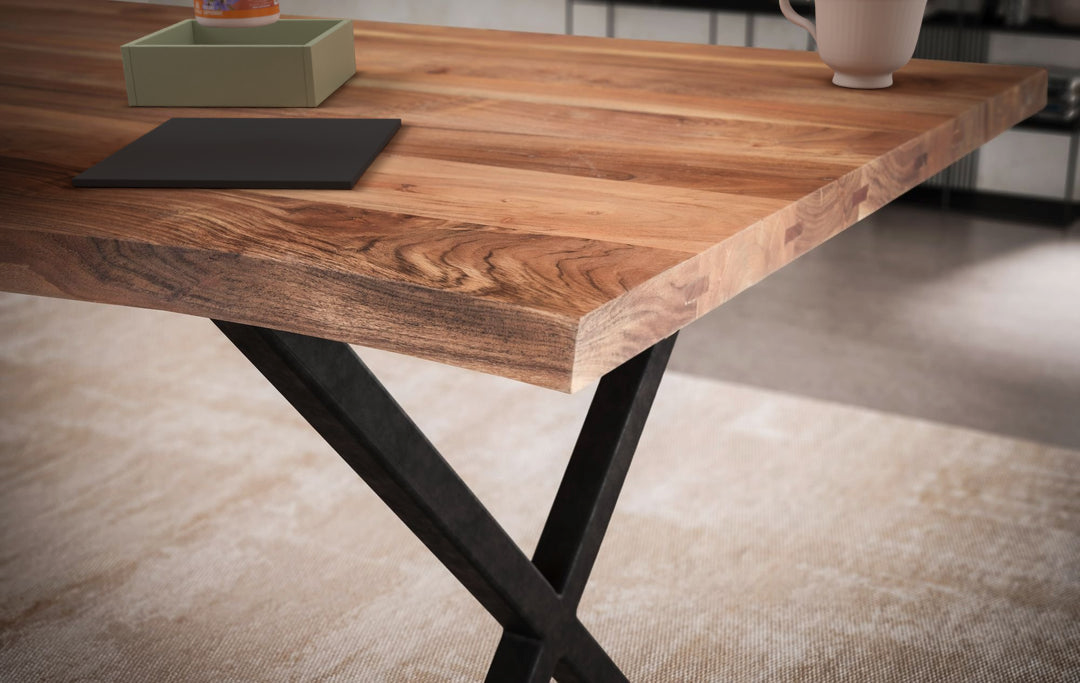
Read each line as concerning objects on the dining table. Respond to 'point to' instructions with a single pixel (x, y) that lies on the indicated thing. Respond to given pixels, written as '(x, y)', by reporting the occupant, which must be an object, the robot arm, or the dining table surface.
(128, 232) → the dining table surface
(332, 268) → the dining table surface
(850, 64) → the teacup
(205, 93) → the crate
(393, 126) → the mat
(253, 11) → the pill bottle
